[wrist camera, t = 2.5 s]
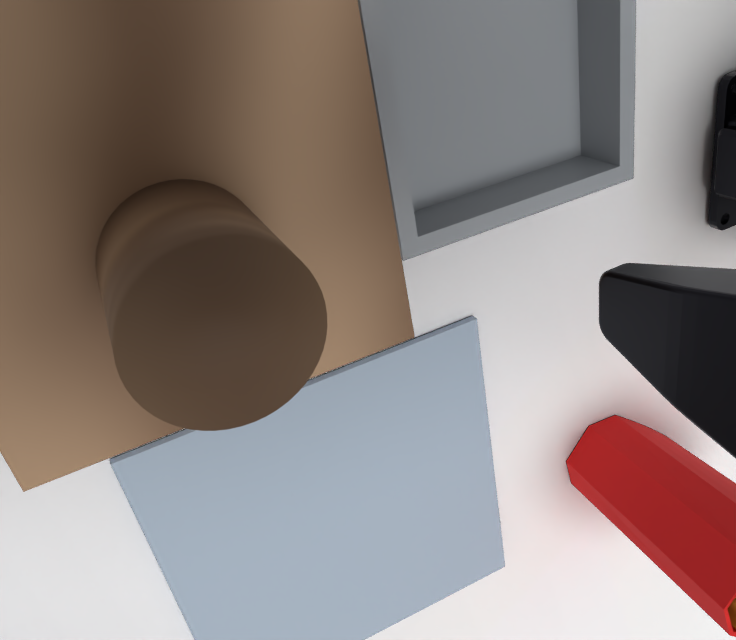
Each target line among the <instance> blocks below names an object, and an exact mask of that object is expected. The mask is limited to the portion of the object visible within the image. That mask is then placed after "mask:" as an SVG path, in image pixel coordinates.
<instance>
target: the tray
mask: <svg viewBox="0 0 736 640" xmlns="http://www.w3.org/2000/svg"><path fill="white" fill-rule="evenodd" d="M357 1H358V6H359V12H360V18H361V24H362V30H363V36H364V42H365V48H366V54H367V59H368V65H369V71H370V77H371V83H372V89H373V95H374V101H375V107H376V113H377V118H378V124H379V130H380V136H381V142H382V148H383V154H384V160H385V166H386V171H387V177H388V183H389V189H390V195H391V201H392V207H393V213H394V219H395V224H396V230H397V236H398V242H399V248H400V254H401V259H402V260H403V261H404V260H407V259H410V258H413V257H415V256H418V255H421V254H424V253H426V252H429V251H432V250H435V249H438V248H440V247H443V246H446V245H449V244H452V243H454V242H457V241H460V240H463V239H466V238H468V237H471V236H474V235H477V234H479V233H482V232H485V231H488V230H491V229H493V228H496V227H499V226H502V225H505V224H507V223H510V222H513V221H516V220H519V219H521V218H524V217H527V216H530V215H533V214H535V213H538V212H541V211H544V210H546V209H549V208H552V207H555V206H558V205H560V204H563V203H566V202H569V201H572V200H574V199H577V198H580V197H583V196H586V195H588V194H591V193H594V192H597V191H599V190H602V189H605V188H608V187H611V186H613V185H616V184H619V183H622V182H625V181H627V180H630V179H633V178H634V110H635V43H636V0H357Z"/></svg>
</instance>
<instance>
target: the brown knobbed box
mask: <svg viewBox="0 0 736 640" xmlns="http://www.w3.org/2000/svg"><path fill="white" fill-rule="evenodd" d="M414 337H415V336H414V331H413V325H412V319H411V313H410V307H409V301H408V295H407V289H406V283H405V278H404V272H403V266H402V260H401V254H400V248H399V242H398V236H397V230H396V224H395V219H394V213H393V207H392V201H391V195H390V189H389V183H388V177H387V171H386V166H385V160H384V154H383V148H382V142H381V136H380V130H379V124H378V118H377V113H376V107H375V101H374V95H373V89H372V83H371V77H370V71H369V65H368V59H367V54H366V48H365V42H364V36H363V30H362V24H361V18H360V12H359V6H358V1H357V0H0V452H1V454H2V455H3V457H4V459H5V461H6V462H7V464H8V466H9V467H10V469H11V471H12V473H13V474H14V476H15V478H16V480H17V481H18V483H19V485H20V486H21V488H22V490H23V492H24V491H27V490H29V489H32V488H34V487H37V486H39V485H42V484H44V483H47V482H50V481H52V480H55V479H57V478H60V477H62V476H65V475H67V474H70V473H72V472H75V471H77V470H80V469H82V468H85V467H87V466H90V465H93V464H95V463H98V462H100V461H103V460H105V459H108V458H110V457H113V456H115V455H118V454H120V453H123V452H125V451H128V450H131V449H133V448H136V447H138V446H141V445H143V444H146V443H148V442H151V441H153V440H156V439H158V438H161V437H163V436H166V435H168V434H171V433H174V432H176V431H179V430H181V429H184V428H186V429H191V430H200V431H218V430H227V429H232V428H237V427H241V426H244V425H247V424H250V423H253V422H256V421H258V420H260V419H262V418H264V417H266V416H268V415H270V414H271V413H273V412H275V411H276V410H278V409H279V408H281V407H282V406H283V405H285V404H286V403H287V402H288V401H290V400H291V399H292V398H293V397H294V396H295V395H296V394H297V393H298V392H299V391H300V390H301V388H302V387H303V386H304V385H305V384H306V382H307V381H308V379H310V378H313V377H315V376H318V375H320V374H323V373H325V372H328V371H331V370H333V369H336V368H338V367H341V366H343V365H346V364H348V363H351V362H353V361H356V360H358V359H361V358H363V357H366V356H368V355H371V354H374V353H376V352H379V351H381V350H384V349H386V348H389V347H391V346H394V345H396V344H399V343H401V342H404V341H406V340H409V339H412V338H414Z"/></svg>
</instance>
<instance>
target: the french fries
mask: <svg viewBox="0 0 736 640" xmlns="http://www.w3.org/2000/svg"><path fill="white" fill-rule="evenodd" d="M566 463H567V467H568V472H569V476H570V480H571V484H573V485H574V486H575V487H576V488H577V489H578V490H579V491H580V492H581V493H582V494H583V495H584V496H585V497H586V498H587V499H588V500H589V501H590V502H591V503H592V504H593V505H594V506H595V507H597V508H598V509H599V510H600V511H601V512H602V513H603V514H604V515H605V516H606V517H607V518H608V519H609V520H610V521H611V522H612V523H613V524H614V525H615V526H616V527H617V528H618V529H619V530H621V531H622V532H623V533H624V534H625V535H626V536H627V537H628V538H629V539H630V540H631V541H632V542H633V543H634V544H635V545H636V546H637V547H638V548H639V549H640V550H641V551H642V552H643V553H644V554H646V555H647V556H648V557H649V558H650V559H651V560H652V561H653V562H654V563H655V564H656V565H657V566H658V567H659V568H660V569H661V570H662V571H663V572H664V573H665V574H666V575H667V576H668V577H670V578H671V579H672V580H673V581H674V582H675V583H676V584H677V585H678V586H679V587H680V588H681V589H682V590H683V591H684V592H685V593H686V594H687V595H688V596H689V597H690V598H691V599H692V600H694V601H695V602H696V603H697V604H698V605H699V606H700V607H701V608H702V609H703V610H704V611H705V612H706V613H707V614H708V615H709V616H710V617H711V618H712V619H713V620H714V621H715V622H716V623H718V624H719V625H720V626H721V627H722V628H723V629H724V630H725V631H726V632H727V633H728V634H729V635H730V636H734V637H736V483H734V482H733V481H731V480H730V479H728V478H727V477H725V476H724V475H723V474H721V473H720V472H718V471H717V470H715V469H714V468H712V467H711V466H709V465H708V464H706V463H705V462H703V461H702V460H700V459H699V458H697V457H696V456H695V455H693V454H692V453H690V452H689V451H687V450H686V449H684V448H683V447H681V446H680V445H678V444H677V443H675V442H674V441H672V440H671V439H669V438H668V437H667V436H665V435H663V434H661V433H659V432H657V431H655V430H653V429H651V428H648V427H646V426H644V425H642V424H639V423H636V422H634V421H631V420H629V419H626V418H623V417H620V416H617V415H614V416H612V417H609V418H607V419H604V420H602V421H599V422H597V423H595V424H592V425H590V426H588V428H587V429H586V431H585V433H584V434H583V436H582V437H581V439H580V441H579V442H578V444H577V445H576V447H575V448H574V450H573V452H572V453H571V455H570V456H569V458H568V459H567V461H566Z"/></svg>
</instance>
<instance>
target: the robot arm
mask: <svg viewBox="0 0 736 640" xmlns="http://www.w3.org/2000/svg"><path fill="white" fill-rule="evenodd" d="M732 85H733V86H732ZM709 225H710V226H711V227H713V228H716V229H719V230H725V229H727V228H730V227H732V226H735V225H736V71H734V72H731V73H728V74H727V75H725V76H724V77H723V78H722V80H721V82H720V84H719V88H718V98H717V112H716V126H715V139H714V153H713V167H712V180H711V194H710V208H709ZM599 324H600V328H601V331H602V333H603V334H604V336H605V338H606V339H607V340H608V341H609V342H610V343H611V344H612V345H613V346H614V347H615V348H616V349H617V350H618V351H619V352H620V353H621V354H622V355H623V356H624V357H625V358H626V359H627V360H628V361H629V362H630V363H631V364H632V365H633V366H634V367H635V368H636V369H637V370H638V371H639V372H640V373H641V374H642V375H643V376H644V377H645V378H646V379H647V380H648V381H649V382H650V383H651V384H652V385H653V386H654V387H655V388H656V389H657V390H658V391H659V392H660V393H661V394H662V395H663V396H664V397H665V398H666V399H667V400H668V401H669V402H670V403H671V404H672V405H673V406H674V407H675V408H676V409H677V410H678V411H680V412H681V413H682V414H683V415H684V416H685V417H686V418H688V419H689V420H690V421H691V422H692V423H694V424H695V425H696V426H697V427H698V428H700V429H701V430H702V431H703V432H704V433H706V434H707V435H708V436H709V437H710V438H712V439H713V440H714V441H715V442H716V443H718V444H719V445H720V446H721V447H723V448H724V449H725V450H726V451H727V452H729V453H730V454H731V455H732V456H733V457H735V458H736V269H724V268H707V267H690V266H673V265H656V264H639V263H626V264H622V265H620V266H618V267H615V268H613V269H610V270H608V271H606V272H604V273H603V274H602V276H601V278H600V281H599Z"/></svg>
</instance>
